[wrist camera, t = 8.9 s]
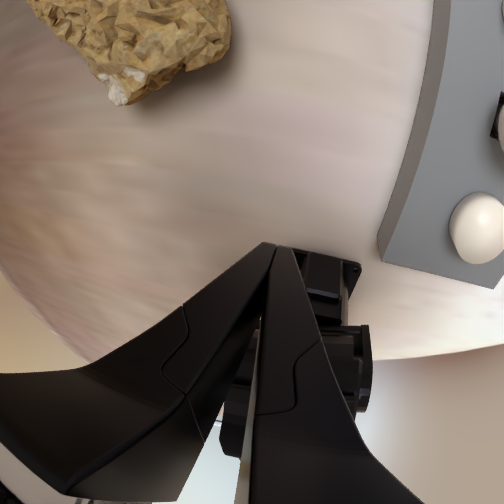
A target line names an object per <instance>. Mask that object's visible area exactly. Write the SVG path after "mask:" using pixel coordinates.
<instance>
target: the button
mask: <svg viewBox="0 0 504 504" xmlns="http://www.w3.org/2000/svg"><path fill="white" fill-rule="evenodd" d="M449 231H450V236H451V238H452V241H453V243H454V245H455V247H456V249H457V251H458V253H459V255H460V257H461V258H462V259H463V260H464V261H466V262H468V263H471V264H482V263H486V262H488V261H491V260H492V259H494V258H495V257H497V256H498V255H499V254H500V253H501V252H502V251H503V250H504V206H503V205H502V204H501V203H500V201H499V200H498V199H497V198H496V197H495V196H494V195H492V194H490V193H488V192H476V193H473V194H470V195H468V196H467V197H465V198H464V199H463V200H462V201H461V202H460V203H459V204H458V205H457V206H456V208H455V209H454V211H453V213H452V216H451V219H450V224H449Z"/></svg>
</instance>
